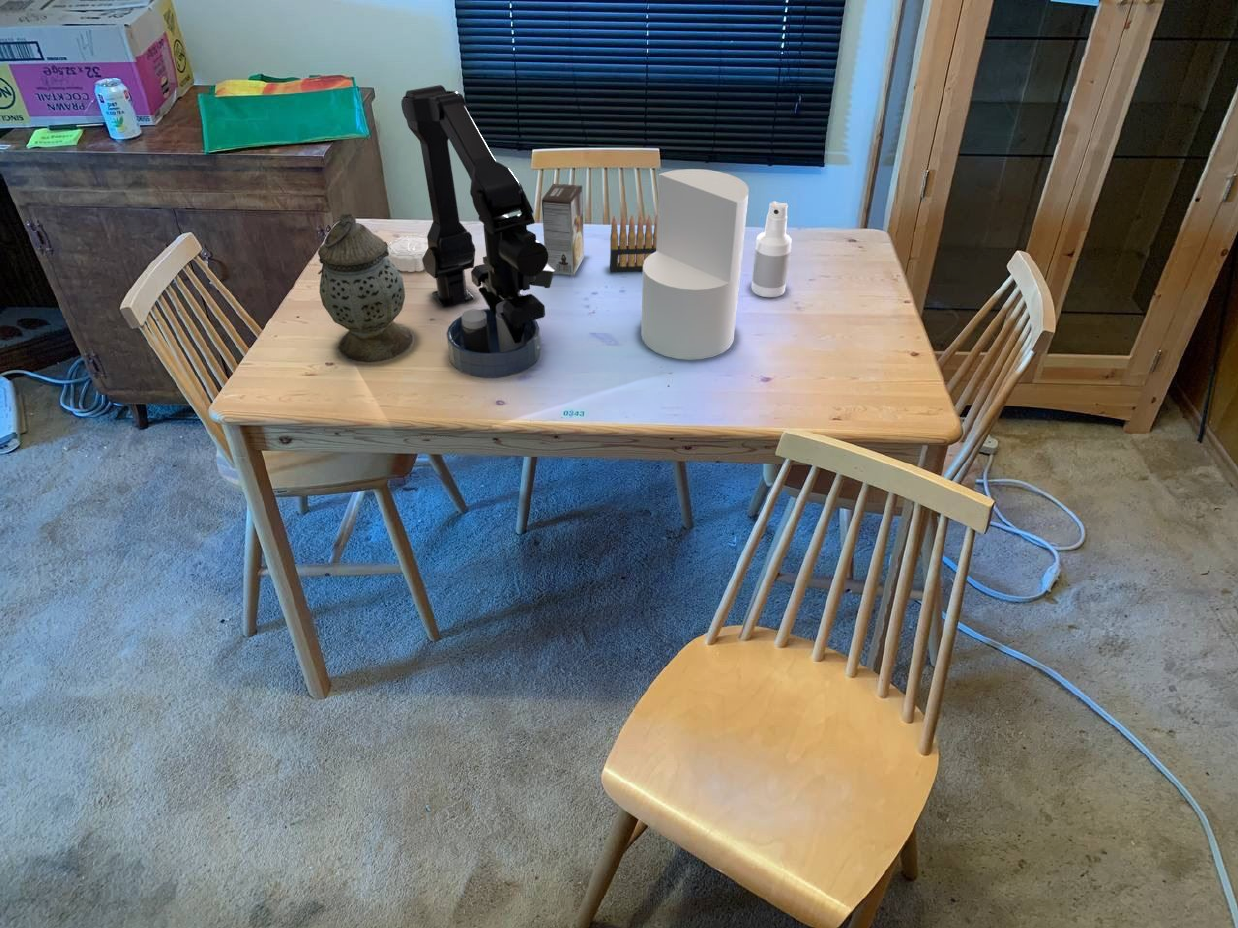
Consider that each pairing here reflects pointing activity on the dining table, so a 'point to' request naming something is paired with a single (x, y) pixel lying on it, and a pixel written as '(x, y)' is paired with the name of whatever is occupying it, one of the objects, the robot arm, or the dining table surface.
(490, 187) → the robot arm
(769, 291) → the spray bottle
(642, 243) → the ammunition clip
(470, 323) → the pepper shaker
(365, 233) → the lantern
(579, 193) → the coffee box
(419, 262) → the mooncake
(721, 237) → the cylinder
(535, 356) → the bowl
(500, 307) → the salt shaker
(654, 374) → the dining table surface
